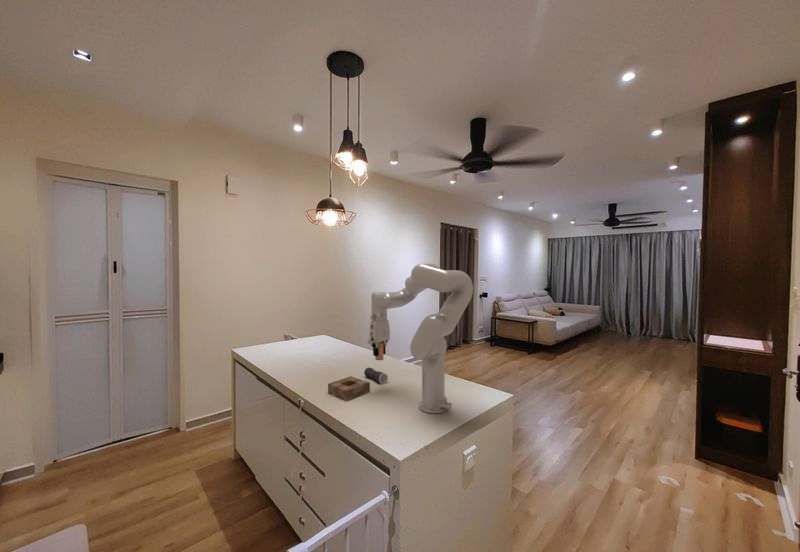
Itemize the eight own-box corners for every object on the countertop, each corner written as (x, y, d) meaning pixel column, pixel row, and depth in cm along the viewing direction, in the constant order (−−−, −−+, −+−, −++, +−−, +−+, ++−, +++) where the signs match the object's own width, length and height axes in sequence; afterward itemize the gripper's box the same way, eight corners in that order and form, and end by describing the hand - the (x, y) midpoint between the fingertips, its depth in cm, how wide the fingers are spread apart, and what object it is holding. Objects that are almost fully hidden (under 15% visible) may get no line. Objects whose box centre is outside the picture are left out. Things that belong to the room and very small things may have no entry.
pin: (385, 359, 152) (385, 342, 152) (379, 360, 149) (379, 344, 149) (379, 357, 155) (379, 341, 154) (373, 359, 152) (373, 342, 151)
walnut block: (369, 391, 150) (369, 382, 150) (346, 401, 139) (346, 391, 139) (351, 385, 159) (351, 376, 159) (328, 393, 148) (328, 383, 148)
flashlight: (363, 377, 171) (363, 367, 171) (371, 375, 174) (371, 365, 174) (379, 385, 159) (379, 374, 159) (388, 382, 162) (387, 372, 162)
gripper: (371, 320, 143) (371, 360, 143) (396, 316, 155) (396, 352, 155) (361, 318, 148) (361, 357, 148) (385, 314, 160) (386, 350, 160)
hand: (379, 354), depth 152 cm, fingers closed on pin, 4 cm apart
